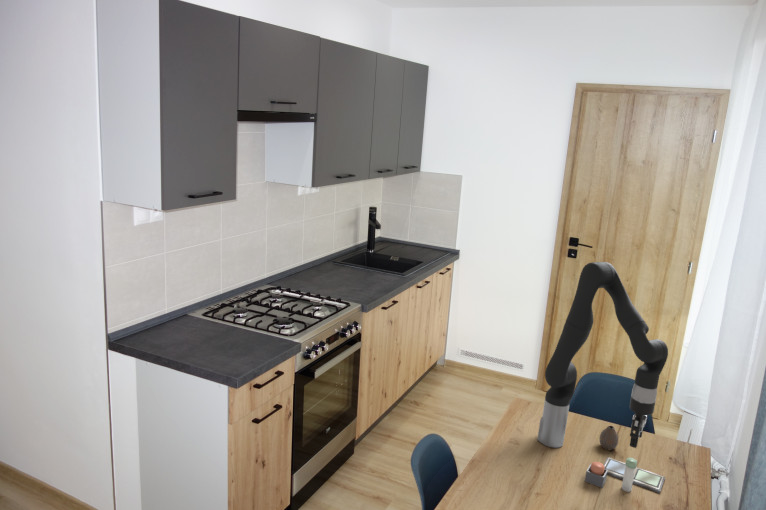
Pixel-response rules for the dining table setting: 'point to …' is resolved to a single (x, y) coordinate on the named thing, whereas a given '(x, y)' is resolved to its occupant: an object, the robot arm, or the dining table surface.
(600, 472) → the button
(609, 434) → the vase
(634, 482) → the picture board
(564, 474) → the dining table surface
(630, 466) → the marker
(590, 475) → the button housing
